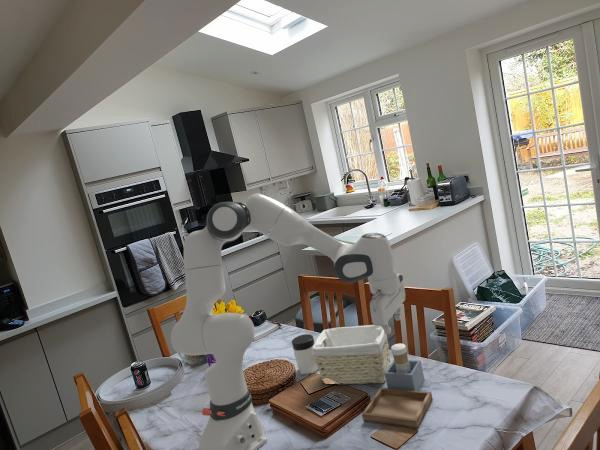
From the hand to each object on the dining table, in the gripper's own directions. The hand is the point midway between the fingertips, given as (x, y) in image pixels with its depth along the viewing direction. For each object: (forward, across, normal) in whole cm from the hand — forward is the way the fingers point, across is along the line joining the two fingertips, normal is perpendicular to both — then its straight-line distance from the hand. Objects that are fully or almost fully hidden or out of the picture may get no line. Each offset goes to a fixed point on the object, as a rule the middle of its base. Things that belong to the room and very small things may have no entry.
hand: (393, 326), depth 144 cm
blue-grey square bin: (+20, -1, 0) cm, 20 cm away
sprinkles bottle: (+20, -1, 0) cm, 20 cm away
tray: (+20, -14, -2) cm, 24 cm away
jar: (+20, +6, +40) cm, 45 cm away
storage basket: (+20, +4, +19) cm, 28 cm away
